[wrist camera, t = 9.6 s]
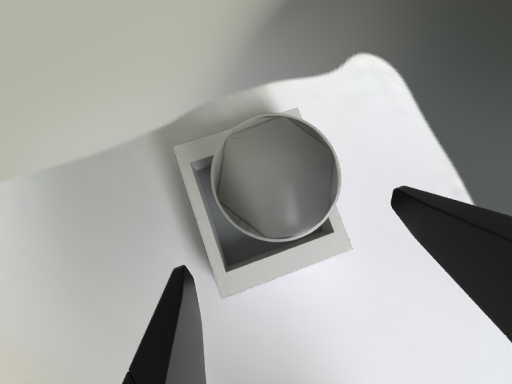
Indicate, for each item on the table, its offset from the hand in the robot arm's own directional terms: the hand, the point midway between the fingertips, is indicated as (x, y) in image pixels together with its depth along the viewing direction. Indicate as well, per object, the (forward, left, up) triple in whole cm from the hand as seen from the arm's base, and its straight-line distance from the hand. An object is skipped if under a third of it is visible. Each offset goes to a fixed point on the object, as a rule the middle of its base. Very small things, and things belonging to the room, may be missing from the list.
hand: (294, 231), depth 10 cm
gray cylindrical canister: (+2, +1, -10) cm, 10 cm away
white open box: (+2, +1, -11) cm, 11 cm away
